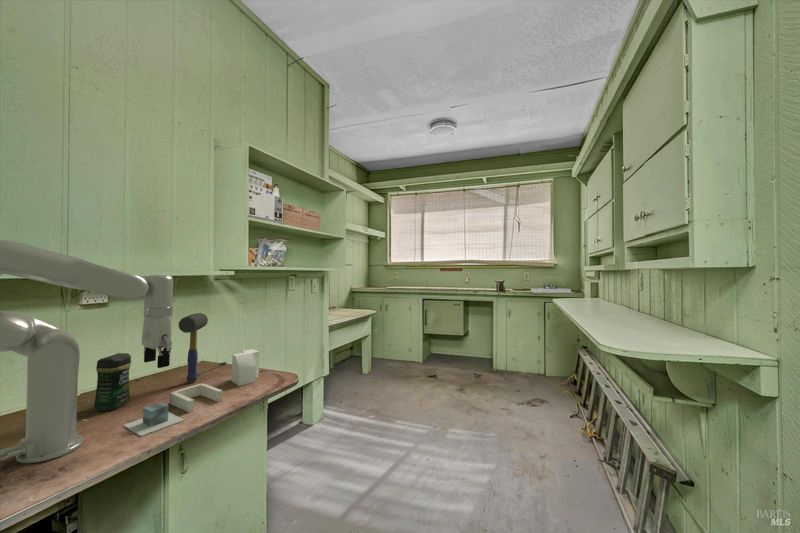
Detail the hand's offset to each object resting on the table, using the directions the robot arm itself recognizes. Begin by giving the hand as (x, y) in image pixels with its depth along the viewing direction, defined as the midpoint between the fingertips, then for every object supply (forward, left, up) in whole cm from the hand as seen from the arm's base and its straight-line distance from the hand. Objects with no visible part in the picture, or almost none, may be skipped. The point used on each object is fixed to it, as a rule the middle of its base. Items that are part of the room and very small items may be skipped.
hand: (156, 364), depth 106 cm
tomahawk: (+39, +35, -20) cm, 56 cm away
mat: (-1, -1, -19) cm, 19 cm away
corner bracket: (+40, +11, -19) cm, 46 cm away
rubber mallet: (+25, +27, -19) cm, 42 cm away
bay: (+15, +5, -19) cm, 25 cm away
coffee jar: (-3, +25, -19) cm, 31 cm away
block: (0, -1, -19) cm, 19 cm away
